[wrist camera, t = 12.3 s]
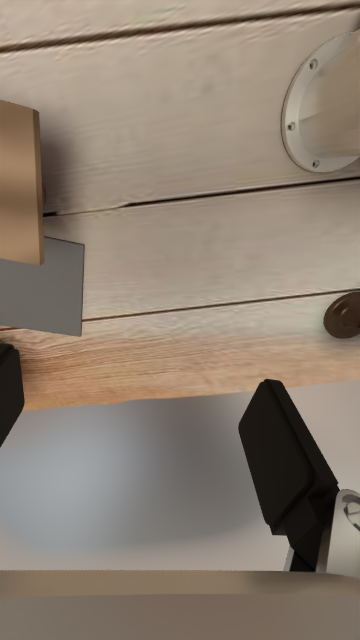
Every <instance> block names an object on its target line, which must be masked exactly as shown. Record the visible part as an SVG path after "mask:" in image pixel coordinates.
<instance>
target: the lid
mask: <svg viewBox="0 0 360 640" xmlns="http://www.w3.org/2000/svg"><path fill="white" fill-rule="evenodd" d="M0 258H2V259H7V260H12V261H18V262H23V263H28V264H34V265H39V266H40V265H42V264H43V263H44V262H45V256H44V230H43V203H42V177H41V150H40V124H39V112H38V111H36V110H34V109H32V108H28V107H25V106H21V105H17V104H14V103H10V102H7V101H3V100H0Z"/></svg>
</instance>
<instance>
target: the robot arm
mask: <svg viewBox="0 0 360 640" xmlns="http://www.w3.org/2000/svg"><path fill="white" fill-rule="evenodd" d="M310 64H311V66H312V67H311V69H310ZM288 125H289V126H290V129H289V130H288ZM281 128H282V136H283V141H284V144H285V148H286V150H287V152H288V154H289V155H290V157H291V158H292V160H293V161H294V162H295V163H296V164H297V165H299V166H300V167H302V168H303V169H305V170H308V171H311V172H319V173H322V172H331V171H336V170H339V169H341V168H343V167H346V166H348V165H349V164H351V163H352V162H354V161H355V160H357V159H358V158H359V157H360V28H359V30H357V31H355V32H347V33H344V34H341V35H339V36H336V37H334V38H332V39H330V40H329V41H327V42H326V43H324V44H323V45H322V46H320V47H319V48H318V49H317V50H315V51H314V52H313V53H312V54H311V55H310V56H309V58H308V59H307V60H306V61H305V62H304V63H303V64H302V66H301V67H300V69H299V70H298V72H297V73H296V75H295V77H294V79H293V81H292V83H291V85H290V87H289V89H288V92H287V95H286V98H285V101H284V106H283V112H282V126H281ZM313 162H314V165H313ZM312 165H313V166H312ZM23 407H24V392H23V383H22V375H21V366H20V358H19V351H18V350H17V349H14V346H13V345H11V344H4V343H0V447H1V446H2V444H3V442H4V440H5V439H6V437H7V435H8V434H9V432H10V430H11V429H12V427H13V425H14V423H15V422H16V420H17V418H18V417H19V415H20V413H21V412H22V410H23ZM238 429H239V434H240V438H241V441H242V445H243V448H244V451H245V455H246V458H247V462H248V465H249V469H250V472H251V476H252V479H253V483H254V486H255V489H256V493H257V496H258V500H259V503H260V506H261V510H262V514H263V517H264V520H265V522H266V523H267V524H268V525H269V526H270V528H271V532H272V535H286V536H287V538H288V541H289V544H290V547H289V551H288V554H287V558H286V562H285V566H284V570H283V571H208V570H206V571H204V570H26V571H25V570H22V571H21V570H20V571H19V570H18V571H17V570H14V571H13V570H12V571H10V570H8V571H6V570H4V571H2V570H1V571H0V640H360V494H359V493H357V492H355V491H353V490H349V489H343V490H341V491H340V489H339V488H338V486H337V484H338V482H337V480H336V478H335V476H334V474H333V472H332V471H331V469H330V467H329V465H328V464H327V462H326V460H325V458H324V457H323V455H322V453H321V451H320V449H319V448H318V446H317V444H316V442H315V440H314V439H313V437H312V435H311V433H310V432H309V430H308V428H307V426H306V425H305V423H304V421H303V419H302V417H301V415H300V414H299V412H298V410H297V408H296V407H295V405H294V403H293V401H292V399H291V398H290V396H289V394H288V393H287V391H286V389H285V387H284V385H283V383H282V382H281V381H279V380H271V379H265V380H264V381H263V382H261V383H260V384H259V386H258V388H257V390H256V392H255V393H254V395H253V397H252V399H251V401H250V403H249V405H248V407H247V409H246V411H245V413H244V415H243V417H242V419H241V421H240V423H239V428H238Z"/></svg>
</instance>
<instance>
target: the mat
mask: <svg viewBox="0 0 360 640" xmlns="http://www.w3.org/2000/svg"><path fill="white" fill-rule="evenodd" d="M44 256H45V262H44V263H43V264H42V265H40V266H39V265H34V264H28V263H23V262H18V261H12V260H7V259H2V258H0V325H3V326H10V327H17V328H23V329H30V330H37V331H44V332H51V333H58V334H65V335H72V336H79V337H81V328H82V300H83V272H84V245H83V244H79V243H74V242H69V241H64V240H59V239H54V238H49V237H44Z"/></svg>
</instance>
